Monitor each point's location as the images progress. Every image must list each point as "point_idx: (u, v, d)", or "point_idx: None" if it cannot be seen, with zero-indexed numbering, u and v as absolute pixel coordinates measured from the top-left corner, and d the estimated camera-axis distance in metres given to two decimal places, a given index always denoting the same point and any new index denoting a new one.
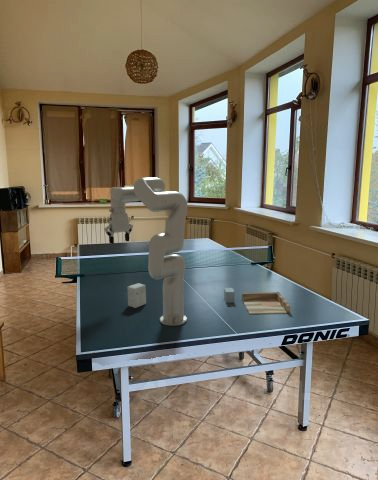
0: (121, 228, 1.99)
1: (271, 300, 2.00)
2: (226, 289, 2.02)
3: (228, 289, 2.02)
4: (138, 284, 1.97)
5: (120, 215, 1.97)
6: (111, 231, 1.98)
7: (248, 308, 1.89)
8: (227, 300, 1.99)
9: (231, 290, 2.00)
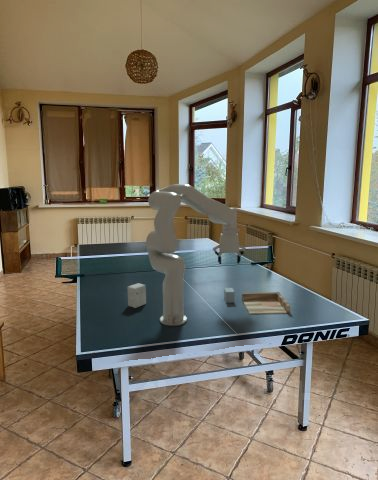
0: None
1: (271, 300, 2.00)
2: (226, 289, 2.02)
3: (228, 289, 2.02)
4: (138, 284, 1.97)
5: None
6: None
7: (248, 308, 1.89)
8: (227, 300, 1.99)
9: (231, 290, 2.00)
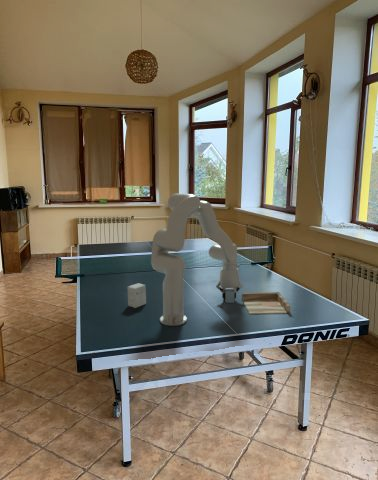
0: None
1: (271, 300, 2.00)
2: (226, 289, 2.02)
3: (228, 289, 2.02)
4: (138, 284, 1.97)
5: None
6: None
7: (248, 308, 1.89)
8: (227, 300, 1.99)
9: (231, 290, 2.00)
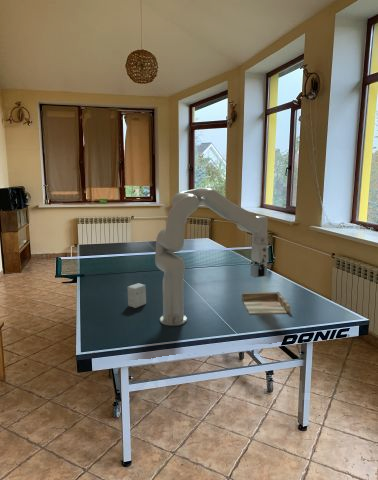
0: None
1: (271, 300, 2.00)
2: (258, 263, 1.95)
3: None
4: (138, 284, 1.97)
5: None
6: (262, 263, 1.90)
7: (248, 308, 1.89)
8: (251, 273, 1.94)
9: (258, 265, 1.92)
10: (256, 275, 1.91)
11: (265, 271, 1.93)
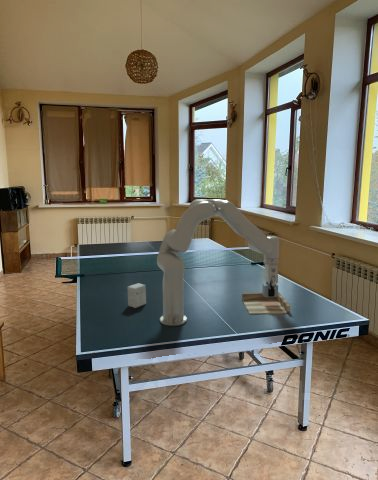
0: None
1: (271, 300, 2.00)
2: None
3: (271, 284, 1.93)
4: (138, 284, 1.97)
5: None
6: None
7: (248, 308, 1.89)
8: (262, 292, 1.95)
9: None
10: (266, 295, 1.92)
11: (276, 292, 1.92)
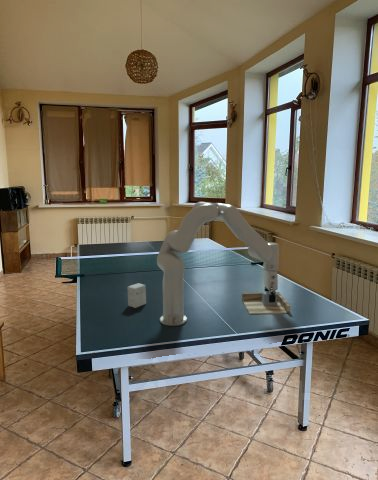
0: None
1: None
2: None
3: None
4: (138, 284, 1.97)
5: None
6: (272, 289, 1.89)
7: (248, 308, 1.89)
8: (262, 300, 1.96)
9: (268, 293, 1.93)
10: (265, 303, 1.93)
11: (275, 300, 1.92)
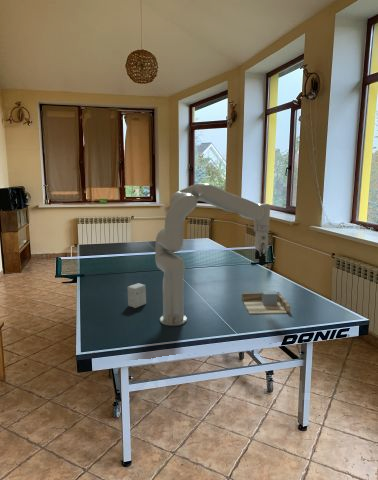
0: None
1: None
2: (270, 291, 1.95)
3: (271, 292, 1.94)
4: (138, 284, 1.97)
5: None
6: (262, 250, 1.86)
7: (248, 308, 1.89)
8: (262, 300, 1.96)
9: (268, 293, 1.93)
10: (265, 303, 1.93)
11: (275, 300, 1.92)
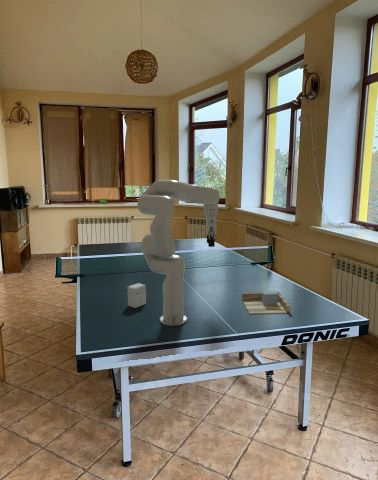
0: None
1: None
2: (270, 291, 1.95)
3: (271, 292, 1.94)
4: (138, 284, 1.97)
5: None
6: (211, 234, 1.92)
7: (248, 308, 1.89)
8: (262, 300, 1.96)
9: (268, 293, 1.93)
10: (265, 303, 1.93)
11: (275, 300, 1.92)
